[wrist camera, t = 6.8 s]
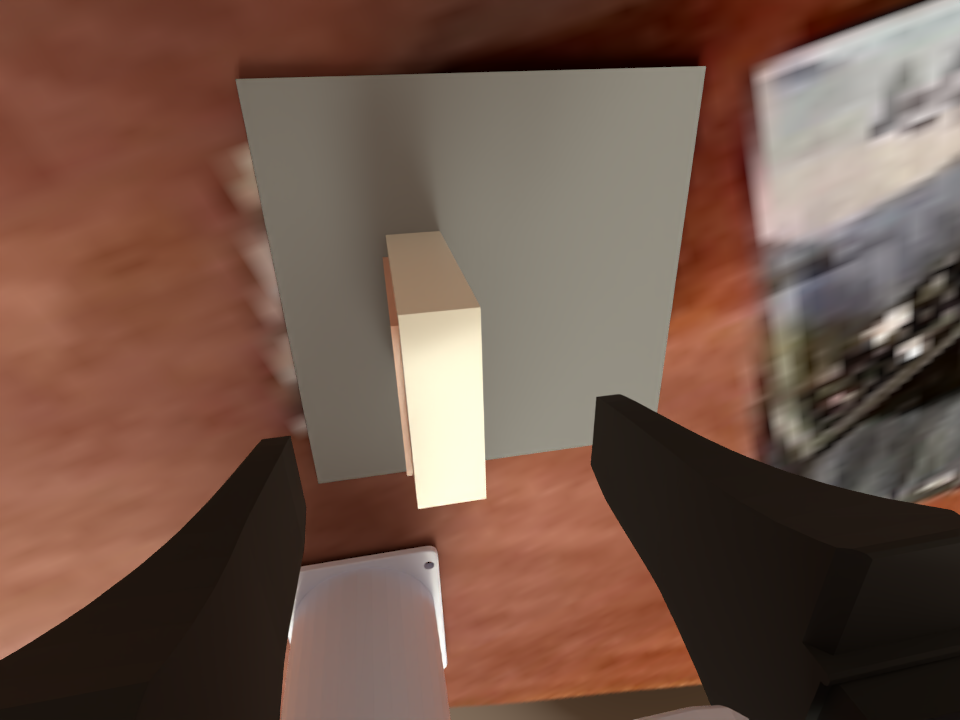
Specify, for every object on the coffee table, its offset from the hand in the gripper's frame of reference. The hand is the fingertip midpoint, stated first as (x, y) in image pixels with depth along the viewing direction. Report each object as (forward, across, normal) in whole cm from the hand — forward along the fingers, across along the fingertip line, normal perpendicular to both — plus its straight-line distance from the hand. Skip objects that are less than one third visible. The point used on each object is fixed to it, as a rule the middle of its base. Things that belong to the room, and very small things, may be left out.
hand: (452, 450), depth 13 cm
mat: (+10, -3, 0) cm, 11 cm away
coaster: (+10, 0, 0) cm, 10 cm away
